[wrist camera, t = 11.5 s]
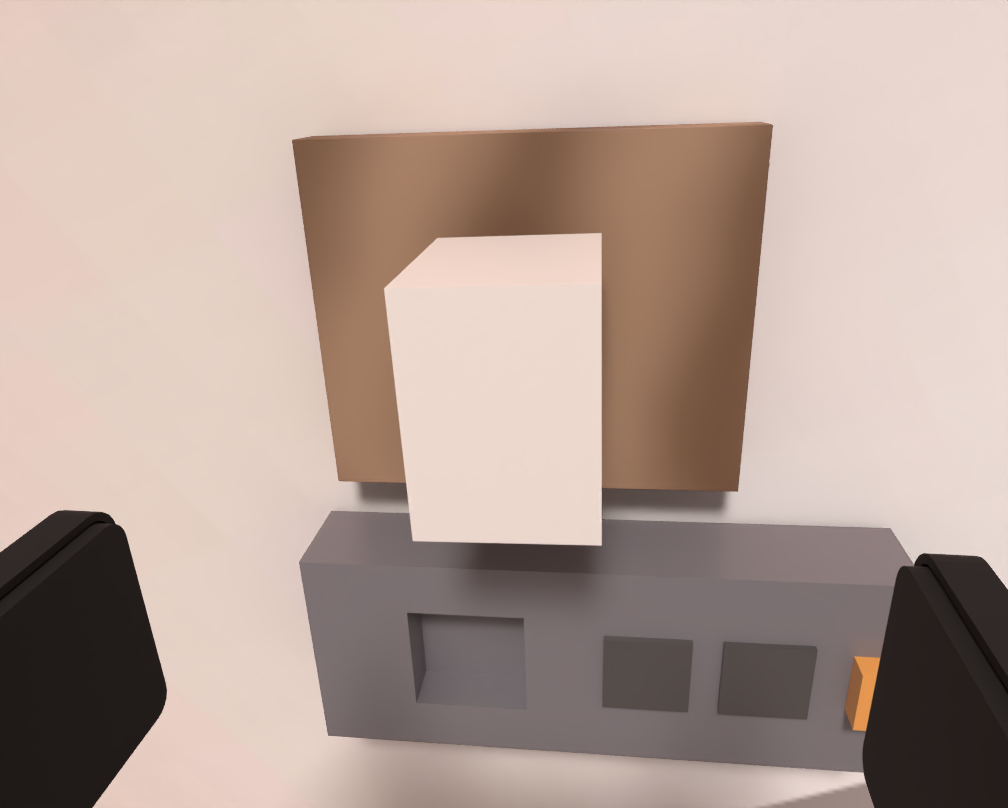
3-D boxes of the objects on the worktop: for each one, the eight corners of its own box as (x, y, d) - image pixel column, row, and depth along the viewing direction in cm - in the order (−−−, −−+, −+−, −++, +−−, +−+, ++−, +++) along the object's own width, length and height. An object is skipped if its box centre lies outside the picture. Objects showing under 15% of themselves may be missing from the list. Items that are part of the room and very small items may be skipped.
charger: (601, 222, 19) (601, 284, 14) (601, 418, 22) (601, 545, 16) (448, 227, 20) (384, 288, 14) (463, 417, 22) (412, 541, 16)
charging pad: (760, 122, 19) (772, 124, 18) (729, 467, 23) (737, 491, 22) (312, 135, 21) (292, 140, 20) (353, 459, 25) (338, 480, 23)
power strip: (890, 528, 24) (940, 605, 20) (857, 701, 26) (896, 796, 23) (331, 511, 26) (289, 577, 22) (354, 672, 28) (320, 754, 25)
